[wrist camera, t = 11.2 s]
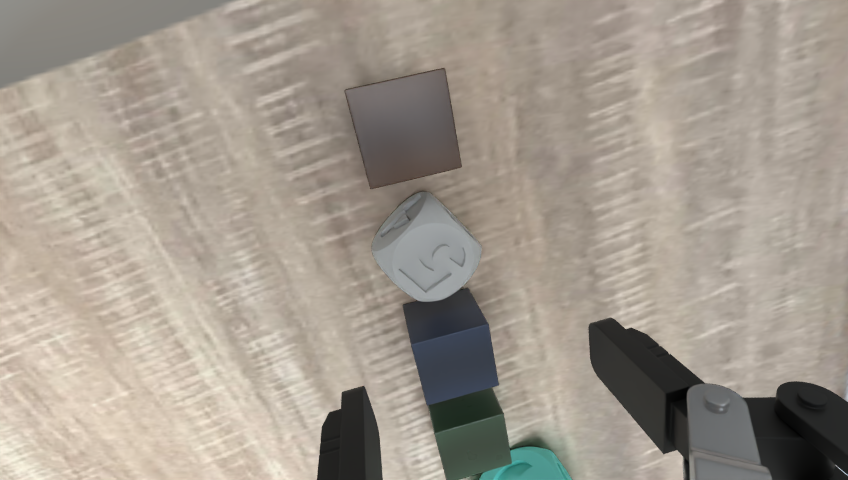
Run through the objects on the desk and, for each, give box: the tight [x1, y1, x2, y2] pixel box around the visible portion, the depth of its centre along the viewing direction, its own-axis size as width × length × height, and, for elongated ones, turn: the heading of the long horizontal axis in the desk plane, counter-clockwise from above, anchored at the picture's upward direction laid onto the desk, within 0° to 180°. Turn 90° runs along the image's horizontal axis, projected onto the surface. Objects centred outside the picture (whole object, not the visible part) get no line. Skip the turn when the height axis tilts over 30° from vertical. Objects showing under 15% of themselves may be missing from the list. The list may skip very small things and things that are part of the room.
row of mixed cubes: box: [345, 68, 512, 480], centre depth 27 cm, size 28×5×5 cm, turn 12°
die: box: [372, 192, 482, 302], centre depth 25 cm, size 5×5×5 cm
